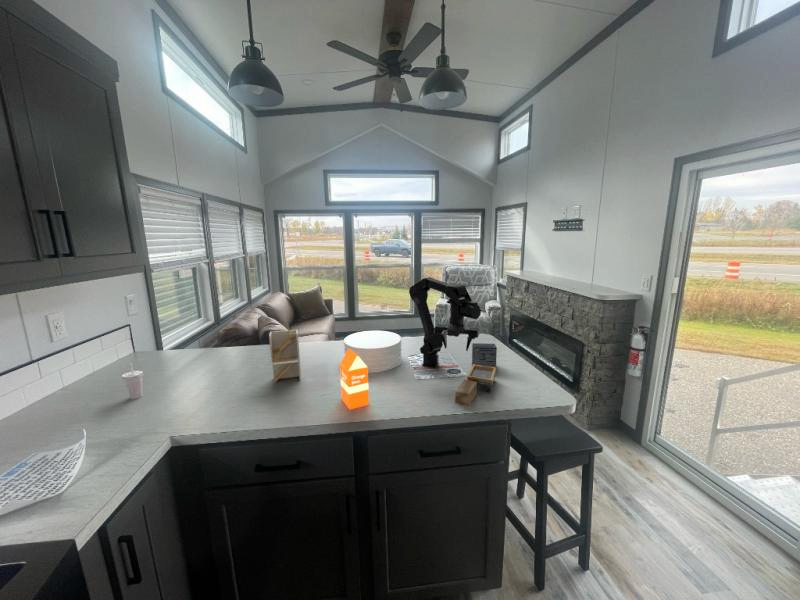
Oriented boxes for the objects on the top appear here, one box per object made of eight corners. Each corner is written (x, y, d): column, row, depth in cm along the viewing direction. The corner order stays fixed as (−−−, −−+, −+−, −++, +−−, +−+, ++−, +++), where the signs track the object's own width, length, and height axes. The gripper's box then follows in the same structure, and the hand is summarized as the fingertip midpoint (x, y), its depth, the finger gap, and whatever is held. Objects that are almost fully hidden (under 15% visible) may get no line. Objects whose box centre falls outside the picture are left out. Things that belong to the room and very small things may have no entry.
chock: (455, 403, 121) (455, 390, 120) (464, 390, 130) (464, 379, 129) (468, 406, 119) (468, 393, 118) (476, 393, 128) (476, 381, 127)
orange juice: (349, 409, 117) (346, 356, 113) (341, 399, 125) (338, 349, 121) (369, 404, 121) (367, 352, 117) (360, 394, 128) (358, 345, 124)
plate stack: (400, 350, 177) (400, 329, 174) (402, 371, 149) (402, 347, 147) (348, 351, 176) (347, 331, 173) (341, 373, 148) (339, 349, 146)
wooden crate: (273, 379, 143) (268, 323, 138) (301, 376, 146) (297, 321, 141) (271, 387, 135) (266, 328, 130) (300, 384, 138) (296, 326, 133)
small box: (493, 363, 157) (494, 343, 155) (496, 369, 150) (497, 347, 148) (471, 363, 158) (472, 342, 156) (473, 368, 151) (473, 347, 149)
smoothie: (130, 402, 124) (123, 367, 121) (123, 398, 127) (116, 364, 124) (149, 395, 129) (143, 362, 126) (142, 391, 132) (136, 358, 130)
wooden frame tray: (466, 390, 131) (467, 376, 129) (472, 376, 143) (473, 363, 142) (491, 394, 127) (492, 380, 126) (495, 379, 140) (496, 367, 139)
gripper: (430, 317, 135) (430, 353, 138) (476, 321, 128) (474, 359, 131) (437, 311, 145) (437, 345, 148) (480, 314, 138) (479, 350, 141)
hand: (456, 349), depth 142 cm, fingers open, 9 cm apart
